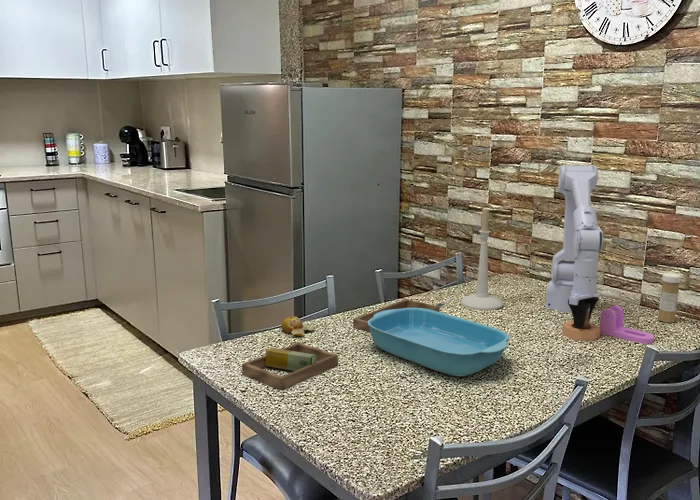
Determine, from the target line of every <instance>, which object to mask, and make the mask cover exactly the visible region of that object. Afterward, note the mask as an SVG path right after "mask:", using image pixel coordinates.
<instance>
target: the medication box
mask: <svg viewBox="0 0 700 500" xmlns="http://www.w3.org/2000/svg"><path fill="white" fill-rule="evenodd" d="M265 355H266V366H268V367H271V368H275V369H281V370H286V371H292V372H294V371H296V370H299V369H301V368H303V367H306V366H308V365H313V364H314V363H315V362H317V360H316V357H317V355H315V354H308V353H302V352H295V351H289V350H283V348H276V347H270V348H267V349H266V350H265Z"/></svg>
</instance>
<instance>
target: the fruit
mask: <svg viewBox="0 0 700 500" xmlns="http://www.w3.org/2000/svg"><path fill="white" fill-rule="evenodd" d="M280 328H281V330H282V331H283V333H285V334H287V333H288V334H290V333H291V336H300V337H301V336H302V337H303V336H305V330H308V331H314V330H315V329H316V327H315V326H306V325H303V322H302V320H301V319H300V318H299V317H298V316H295V315H293V316H289V317H286V318H285V319H284V320H282V322H281V326H280Z"/></svg>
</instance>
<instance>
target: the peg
mask: <svg viewBox="0 0 700 500" xmlns="http://www.w3.org/2000/svg"><path fill="white" fill-rule="evenodd" d="M589 311H590V307H589V309H588V311H587V314H586V318H585V323H584V326H583V327H582V328H581V327H576V326H575V328H577V329H581V330H583V329H588V323H590V321H589Z"/></svg>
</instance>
